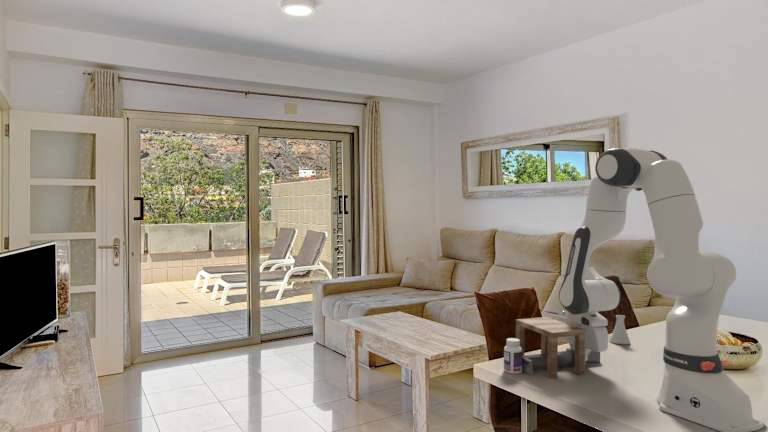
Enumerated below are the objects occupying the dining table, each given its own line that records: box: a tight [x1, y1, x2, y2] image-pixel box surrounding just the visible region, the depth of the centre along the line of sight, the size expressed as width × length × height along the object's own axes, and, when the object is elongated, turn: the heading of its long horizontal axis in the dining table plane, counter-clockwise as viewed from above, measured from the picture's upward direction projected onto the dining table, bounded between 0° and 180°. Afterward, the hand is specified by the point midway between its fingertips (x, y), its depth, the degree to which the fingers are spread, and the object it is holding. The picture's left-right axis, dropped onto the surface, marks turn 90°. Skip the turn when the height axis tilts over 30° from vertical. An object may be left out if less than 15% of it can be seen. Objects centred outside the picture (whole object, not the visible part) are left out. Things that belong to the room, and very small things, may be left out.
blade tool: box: [522, 347, 601, 375], centre depth 157 cm, size 8×30×4 cm, turn 110°
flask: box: [609, 314, 631, 345], centre depth 185 cm, size 7×7×10 cm
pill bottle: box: [503, 337, 523, 375], centre depth 152 cm, size 5×5×10 cm
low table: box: [515, 316, 586, 380], centre depth 156 cm, size 18×12×14 cm, turn 20°
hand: (579, 358), depth 160 cm, fingers closed on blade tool, 2 cm apart
